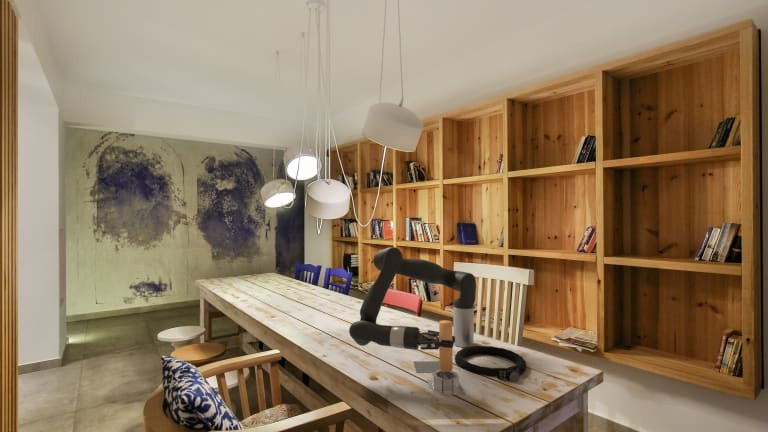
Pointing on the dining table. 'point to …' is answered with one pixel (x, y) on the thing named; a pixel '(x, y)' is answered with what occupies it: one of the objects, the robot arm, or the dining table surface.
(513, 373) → the cable lock
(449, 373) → the collar stand
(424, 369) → the mat
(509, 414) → the dining table surface
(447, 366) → the tube
